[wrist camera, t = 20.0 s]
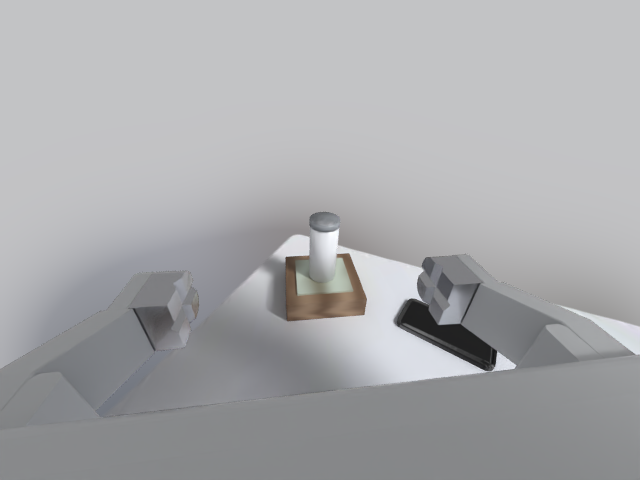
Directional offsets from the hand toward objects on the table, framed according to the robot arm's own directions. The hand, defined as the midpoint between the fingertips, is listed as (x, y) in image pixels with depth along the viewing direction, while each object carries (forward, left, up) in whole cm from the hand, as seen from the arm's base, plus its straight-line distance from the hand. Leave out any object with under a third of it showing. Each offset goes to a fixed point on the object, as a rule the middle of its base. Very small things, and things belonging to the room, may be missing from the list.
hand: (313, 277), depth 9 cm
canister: (-5, -31, -25) cm, 41 cm away
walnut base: (-5, -31, -30) cm, 44 cm away
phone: (-25, -19, -31) cm, 44 cm away
